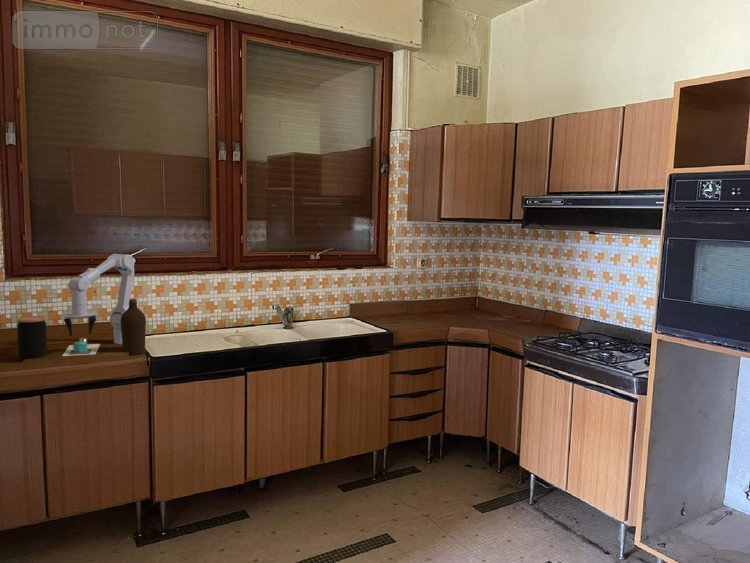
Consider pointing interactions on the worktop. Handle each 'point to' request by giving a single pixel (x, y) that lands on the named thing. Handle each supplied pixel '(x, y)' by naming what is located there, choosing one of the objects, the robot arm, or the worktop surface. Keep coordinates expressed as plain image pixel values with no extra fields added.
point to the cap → (80, 346)
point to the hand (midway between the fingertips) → (80, 334)
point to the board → (89, 346)
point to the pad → (81, 352)
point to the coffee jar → (32, 337)
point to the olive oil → (133, 329)
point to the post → (83, 339)
